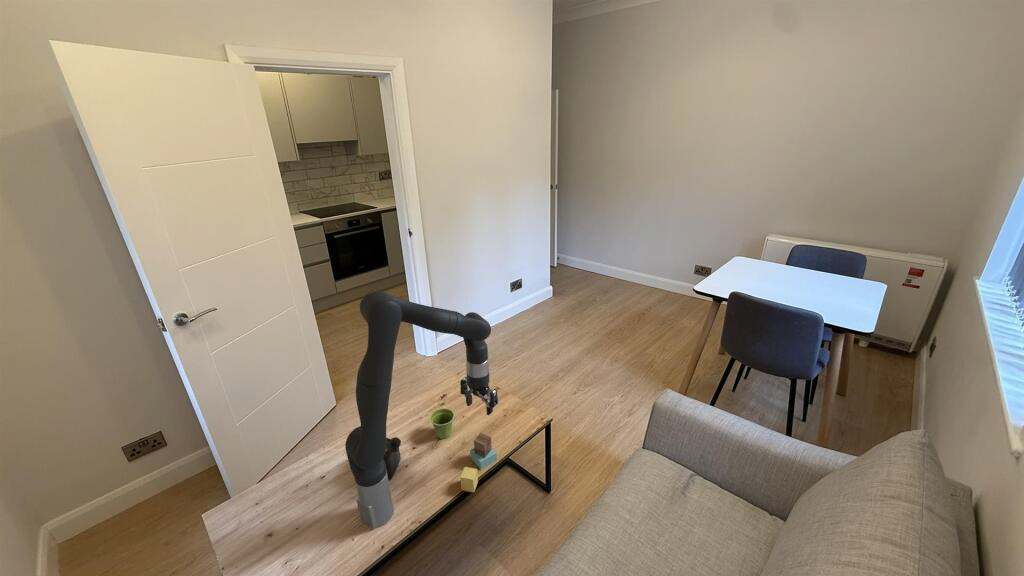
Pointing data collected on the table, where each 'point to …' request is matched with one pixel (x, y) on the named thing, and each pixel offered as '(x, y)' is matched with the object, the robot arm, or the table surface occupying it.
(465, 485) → the mustard block
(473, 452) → the teal plinth block
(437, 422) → the plant pot
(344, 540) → the table surface
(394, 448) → the dark brown ornament
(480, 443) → the walnut block
